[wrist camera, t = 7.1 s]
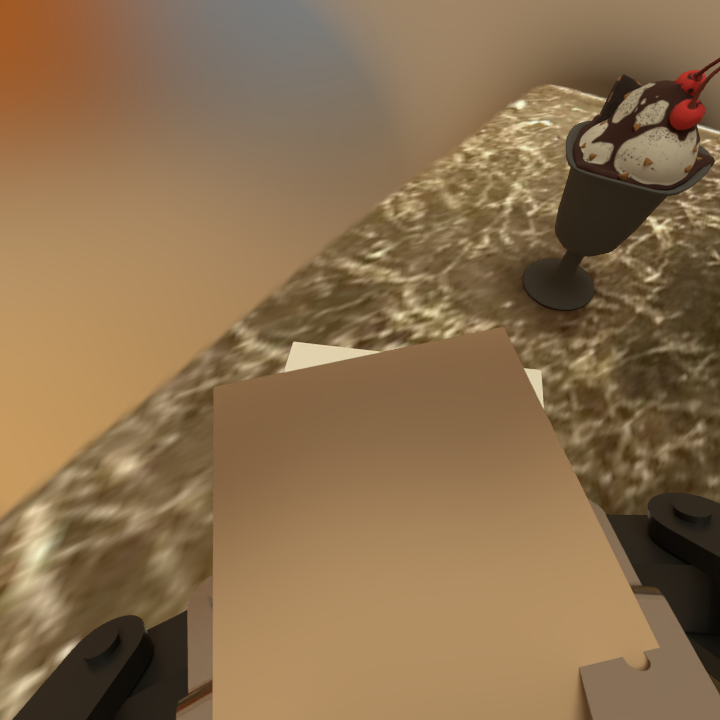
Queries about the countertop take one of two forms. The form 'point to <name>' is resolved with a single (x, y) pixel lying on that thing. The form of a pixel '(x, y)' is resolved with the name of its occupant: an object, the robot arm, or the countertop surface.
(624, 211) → the sundae
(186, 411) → the countertop surface
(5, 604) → the countertop surface
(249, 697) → the walnut block
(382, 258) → the countertop surface
